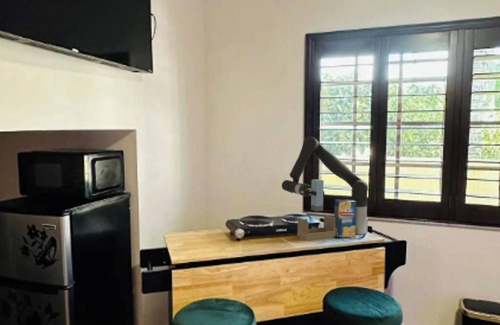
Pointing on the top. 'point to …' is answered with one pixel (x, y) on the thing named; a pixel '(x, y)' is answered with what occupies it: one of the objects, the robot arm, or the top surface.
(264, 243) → the top surface
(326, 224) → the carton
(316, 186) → the slate box
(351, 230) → the blue food box
